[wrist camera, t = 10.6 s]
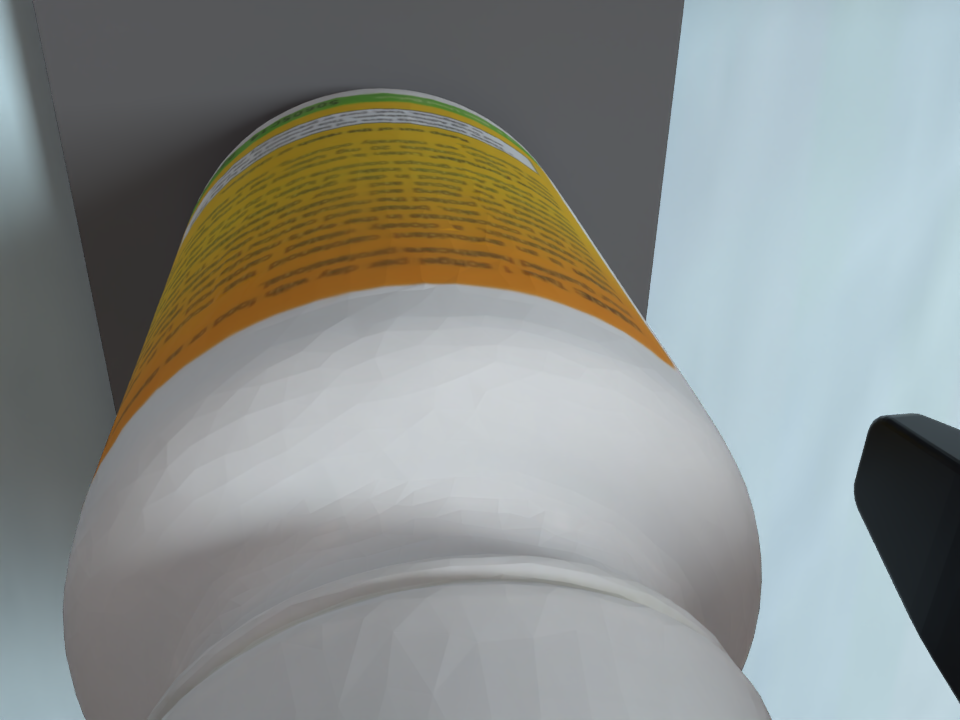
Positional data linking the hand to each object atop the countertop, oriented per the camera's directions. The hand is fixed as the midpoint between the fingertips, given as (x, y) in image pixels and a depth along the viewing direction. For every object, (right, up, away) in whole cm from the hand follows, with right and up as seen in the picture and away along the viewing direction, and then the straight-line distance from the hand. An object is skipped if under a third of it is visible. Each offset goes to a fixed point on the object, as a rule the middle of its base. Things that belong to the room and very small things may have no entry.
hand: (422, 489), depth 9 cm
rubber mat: (-1, +3, +5) cm, 6 cm away
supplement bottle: (-1, +3, +5) cm, 5 cm away
